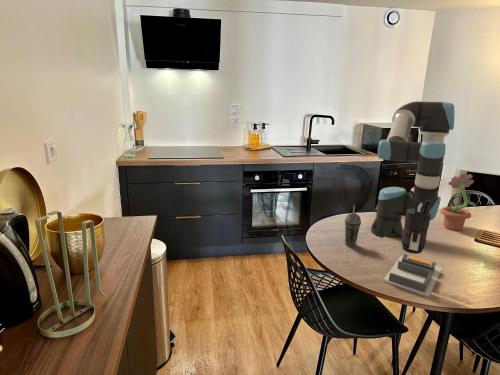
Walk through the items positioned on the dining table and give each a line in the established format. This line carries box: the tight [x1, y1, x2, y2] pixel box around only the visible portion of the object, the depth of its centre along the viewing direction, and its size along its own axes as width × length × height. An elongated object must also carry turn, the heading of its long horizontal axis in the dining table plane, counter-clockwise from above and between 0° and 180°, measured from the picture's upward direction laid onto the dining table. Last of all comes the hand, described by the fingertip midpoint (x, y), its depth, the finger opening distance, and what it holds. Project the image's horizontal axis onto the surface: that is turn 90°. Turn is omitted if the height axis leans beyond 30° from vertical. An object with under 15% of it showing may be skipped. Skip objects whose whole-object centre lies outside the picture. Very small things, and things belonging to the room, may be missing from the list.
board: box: [383, 254, 443, 298], centre depth 136 cm, size 16×24×4 cm, turn 143°
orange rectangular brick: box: [408, 255, 432, 266], centre depth 141 cm, size 8×3×3 cm, turn 53°
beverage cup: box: [344, 204, 362, 248], centre depth 158 cm, size 7×7×20 cm
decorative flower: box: [440, 173, 477, 231], centre depth 178 cm, size 15×14×30 cm
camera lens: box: [401, 209, 431, 255], centre depth 126 cm, size 8×8×15 cm
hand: (416, 245), depth 127 cm, fingers closed on camera lens, 8 cm apart
